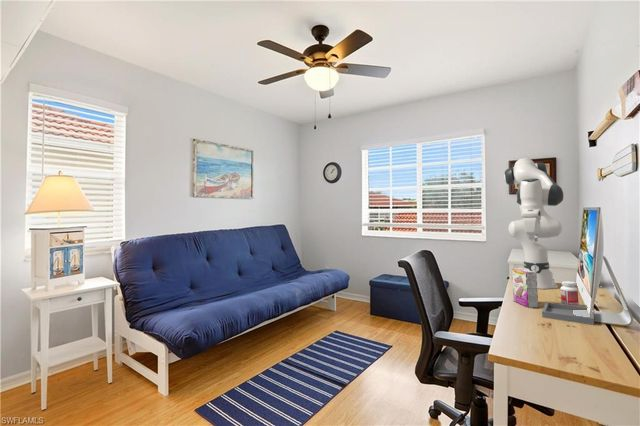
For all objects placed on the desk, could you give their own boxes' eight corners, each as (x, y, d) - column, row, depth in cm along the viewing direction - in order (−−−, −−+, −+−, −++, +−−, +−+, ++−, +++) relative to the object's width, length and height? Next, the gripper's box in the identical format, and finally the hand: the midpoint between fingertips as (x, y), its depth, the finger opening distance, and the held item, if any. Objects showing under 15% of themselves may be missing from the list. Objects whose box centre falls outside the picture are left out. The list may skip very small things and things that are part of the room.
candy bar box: (512, 301, 149) (511, 268, 149) (523, 301, 149) (521, 267, 149) (528, 308, 138) (526, 272, 138) (539, 307, 138) (537, 271, 138)
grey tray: (546, 307, 138) (546, 302, 138) (593, 313, 127) (593, 307, 127) (542, 317, 126) (542, 311, 126) (594, 325, 116) (593, 318, 116)
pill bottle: (581, 306, 137) (579, 282, 137) (576, 309, 134) (574, 284, 134) (564, 303, 142) (562, 280, 142) (559, 306, 139) (557, 282, 139)
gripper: (527, 212, 152) (529, 240, 152) (520, 213, 137) (522, 244, 136) (543, 212, 148) (544, 240, 147) (537, 212, 132) (539, 244, 132)
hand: (534, 242), depth 142 cm, fingers open, 8 cm apart
